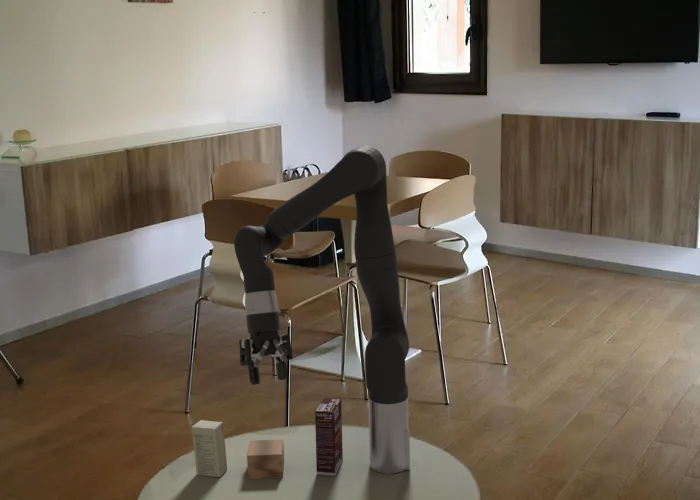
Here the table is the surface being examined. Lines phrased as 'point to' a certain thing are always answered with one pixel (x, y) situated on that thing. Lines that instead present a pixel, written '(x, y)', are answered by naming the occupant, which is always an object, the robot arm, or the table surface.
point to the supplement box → (328, 436)
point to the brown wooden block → (265, 459)
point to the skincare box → (209, 448)
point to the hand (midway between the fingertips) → (269, 382)
